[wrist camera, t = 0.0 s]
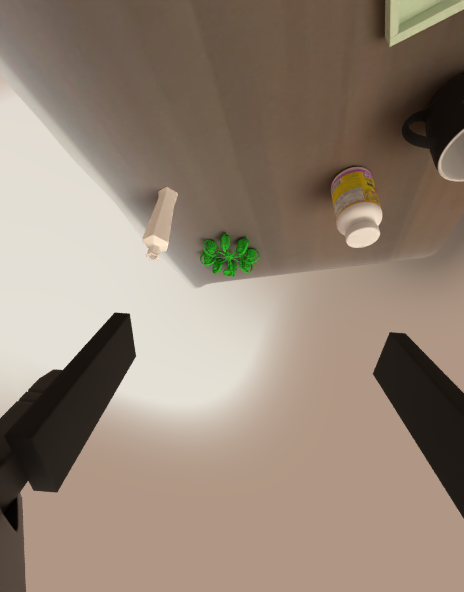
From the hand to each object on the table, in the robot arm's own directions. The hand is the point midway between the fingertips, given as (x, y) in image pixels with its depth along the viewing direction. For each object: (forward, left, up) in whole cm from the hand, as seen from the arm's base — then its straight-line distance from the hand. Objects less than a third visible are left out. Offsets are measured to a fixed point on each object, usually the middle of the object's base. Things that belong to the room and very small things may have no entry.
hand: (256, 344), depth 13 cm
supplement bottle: (+24, +7, -36) cm, 44 cm away
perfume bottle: (+13, -25, -36) cm, 46 cm away
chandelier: (+33, -22, -36) cm, 53 cm away
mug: (+16, +19, -36) cm, 44 cm away
